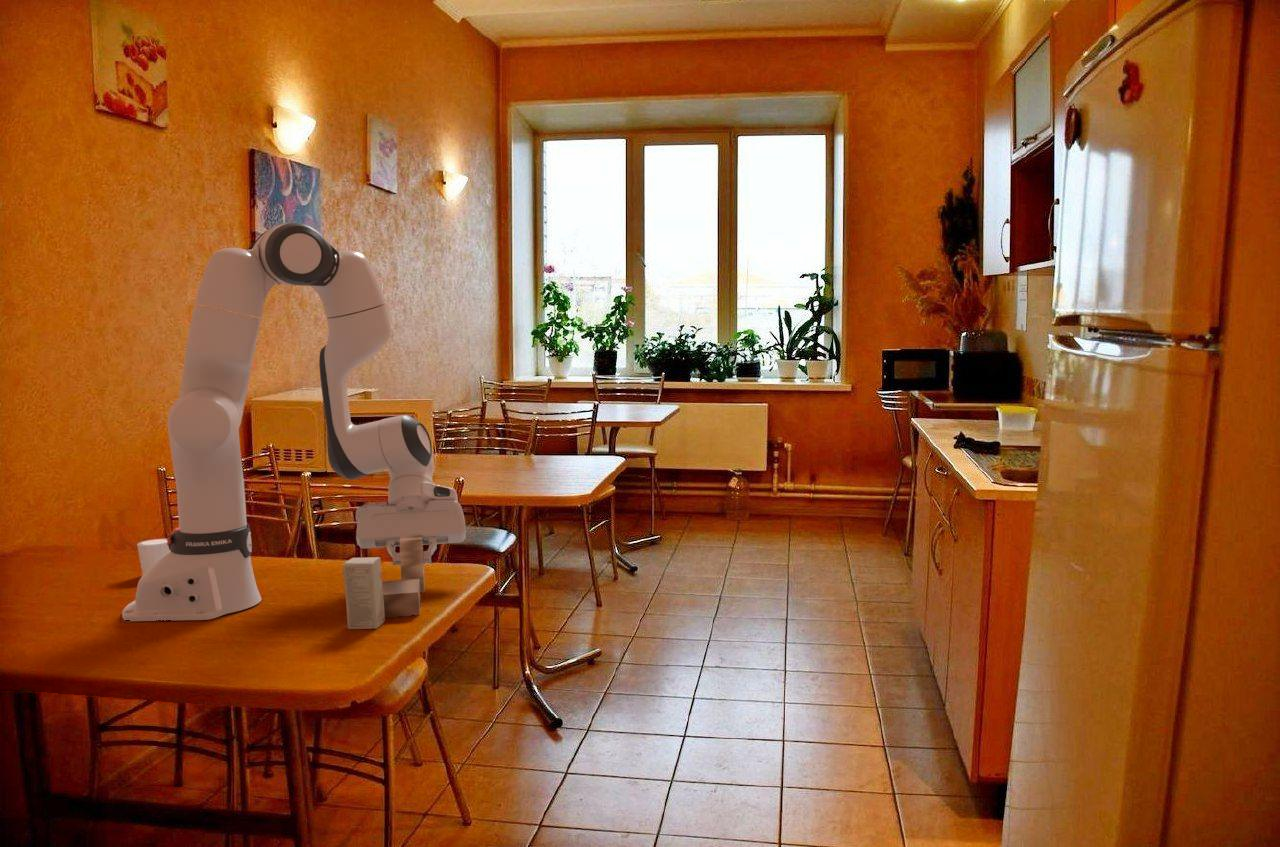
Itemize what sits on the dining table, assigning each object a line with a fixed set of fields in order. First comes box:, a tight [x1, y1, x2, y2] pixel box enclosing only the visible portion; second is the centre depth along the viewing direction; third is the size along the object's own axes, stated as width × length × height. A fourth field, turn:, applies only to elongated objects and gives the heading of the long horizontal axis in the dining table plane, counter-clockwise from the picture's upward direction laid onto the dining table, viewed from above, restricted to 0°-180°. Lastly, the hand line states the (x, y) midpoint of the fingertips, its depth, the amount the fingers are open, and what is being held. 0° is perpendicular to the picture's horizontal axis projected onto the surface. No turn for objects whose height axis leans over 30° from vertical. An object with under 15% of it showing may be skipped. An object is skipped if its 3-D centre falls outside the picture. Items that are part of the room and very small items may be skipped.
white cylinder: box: [136, 537, 170, 576], centre depth 201 cm, size 7×7×7 cm
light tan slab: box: [382, 579, 422, 618], centre depth 174 cm, size 9×9×4 cm
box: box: [342, 556, 386, 630], centre depth 165 cm, size 5×4×11 cm
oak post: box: [399, 535, 426, 593], centre depth 186 cm, size 4×4×10 cm
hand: (412, 562), depth 185 cm, fingers closed on oak post, 4 cm apart
